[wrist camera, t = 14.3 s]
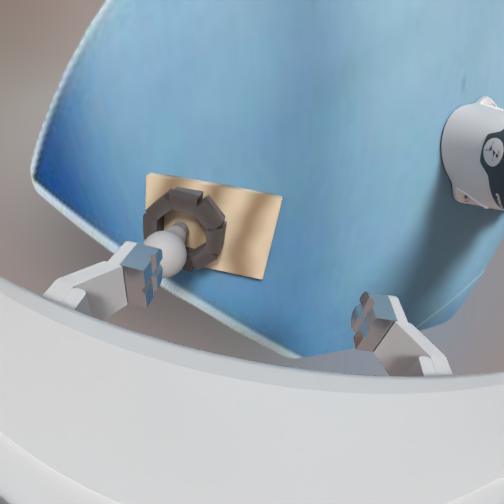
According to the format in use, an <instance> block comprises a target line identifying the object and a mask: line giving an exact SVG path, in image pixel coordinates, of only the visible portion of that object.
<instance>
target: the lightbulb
mask: <svg viewBox="0 0 504 504" xmlns="http://www.w3.org/2000/svg"><path fill="white" fill-rule="evenodd" d="M187 233H188V226H187V225H186V224H185V223H184V222H180V221H179V222H176V223H175V224H173V225H172V226H171V227H169V228H168V229H167V230H164V231H157V232H155V233H153V234H151V235H150V236H148V237H147V239H146V240H145V241H144V243H143V245H147V246H151V247H155V248H159V249H161V250H162V256H163V258H162V260H161V262H160V264H161V266H162V267H163V274H162V278H167V277H171V276H174V275H175V274H177V273H178V272H179V271H180V270H181V269H182V268H183V266H184V265H185V262H186V257H187V251H186V247H185V240H186V236H187Z"/></svg>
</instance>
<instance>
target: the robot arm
mask: <svg viewBox="0 0 504 504" xmlns="http://www.w3.org/2000/svg"><path fill="white" fill-rule="evenodd" d="M441 151H442V159H443V163H444V167H445V169H446V172H447V174H448V176H449V178H450V180H451V182H452V189H453V196H454V199H455V200H456V201H458V202H460V203H466V204H472V205H477V206H482V207H484V208H486V209H488V208H492V209H498V210H503V211H504V110H503V109H500V108H499V107H498V106H497V105H496V104H495V103H494V102H493V101H492V100H491V99H490V98H489V97H486V96H483V97H481V98H480V99H479V100H478V101H477V102H476V103H473V104H467V105H463V106H461V107H459V108H458V109H456V110H455V111H454V112H453V113H452V114H451V116H450V117H449V119H448V121H447V123H446V125H445V128H444V131H443V135H442V144H441ZM465 195H466V196H465ZM464 196H465V197H464ZM162 258H163V256H162V250H161V249H159V248H155V247H151V246H147V245H143V244H140V243H139V244H138V243H135V242H131V241H126V242H125V243H124V244H123V245H122V246H121V247H120V248H119V249H118V251H117V252H116V253H115V254H114V255H113V256H112V258H110V260H109V261H108V262H106V261H103V262H101V263H98V264H95V265H93V266H90V267H87V268H85V269H82V270H80V271H77V272H74V273H72V274H70V275H67V276H64V277H62V278H59V279H57V280H56V281H55V282H54V283H53V284H52V285H51V287H50V288H49V289H48V290H47V291H46V292H45V293H44V294H43V295H42V296H40V295H38V294H36V293H33V292H31V291H29V290H27V289H25V288H23V287H21V286H19V285H17V284H15V283H13V282H11V281H9V280H7V279H5V278H3V277H1V276H0V504H504V372H495V373H485V374H473V375H458V376H453V375H452V372H451V369H450V367H449V364H448V362H447V359H446V356H445V355H443V354H442V353H441V352H440V351H439V350H438V349H437V348H436V347H435V346H434V345H433V344H432V343H431V342H430V341H429V340H428V339H427V338H426V337H425V336H424V335H423V334H422V333H421V332H420V331H419V330H418V329H417V328H416V327H414V326H413V325H412V324H411V323H408V321H407V319H406V316H405V314H404V311H403V309H402V306H401V304H400V302H399V299H398V298H397V297H396V296H390V295H382V294H376V293H371V292H364V293H363V294H362V296H361V297H360V302H361V304H359V305H358V306H356V307H355V309H354V311H353V313H352V317H351V328H352V330H353V331H354V332H355V335H354V337H353V338H354V343H355V348H356V349H357V350H364V351H372V352H374V354H375V356H376V357H377V358H378V360H379V361H380V363H381V364H382V365H383V367H384V368H385V370H386V371H387V373H388V374H389V375H390V376H376V375H359V374H346V373H335V372H325V371H316V370H309V369H301V368H294V367H287V366H280V365H274V364H268V363H262V362H257V361H251V360H246V359H240V358H235V357H231V356H226V355H221V354H217V353H212V352H208V351H204V350H199V349H195V348H191V347H187V346H183V345H180V344H176V343H172V342H169V341H165V340H161V339H158V338H154V337H151V336H148V335H144V334H141V333H138V332H135V331H132V330H128V329H125V328H122V327H119V326H116V325H113V324H110V323H108V322H105V321H102V320H103V319H105V318H107V317H108V316H110V315H111V314H113V313H114V312H116V311H118V310H119V309H121V308H122V307H124V306H126V305H127V303H129V304H132V305H136V306H140V307H144V308H147V307H148V306H149V304H150V302H151V300H152V298H153V292H154V291H156V290H157V289H158V288H159V286H160V283H161V280H162V274H163V267H162V266H161V264H160V262H161V260H162Z"/></svg>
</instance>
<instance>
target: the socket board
mask: <svg viewBox="0 0 504 504" xmlns="http://www.w3.org/2000/svg"><path fill="white" fill-rule="evenodd" d="M281 202H282V196H278V195H273V194H268V193H264V192H259V191H254V190H249V189H244V188H239V187H234V186H229V185H223V184H218V183H212V182H206V181H201V180H195V179H189V178H183V177H176V176H170V175H163V174H156V173H150V174H148V175H147V176H146V210H145V211H146V213H145V214H144V215H143V232H144V239H147V237H148V236H150V235H151V234H153V233H155V232H157V231H164V230H167V229H168V228H169V227H171V226H172V225H173V224H175V223H176V222H179V221H180V222H184V223H185V224H186V225H187V226H188V233H187V236H186V240H185V247H186V251H187V257H186V262H185V265H184V266H183V268H182V269H184V270H188V271H192V269H193V267H194V268H195V269H196V270H199V269H201V268H203V267H205V268H210V269H215V270H219V271H224V272H228V273H233V274H238V275H243V276H247V277H252V278H257V279H262V278H263V274H264V271H265V267H266V263H267V259H268V255H269V251H270V247H271V243H272V239H273V235H274V231H275V227H276V223H277V218H278V214H279V210H280V206H281Z"/></svg>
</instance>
